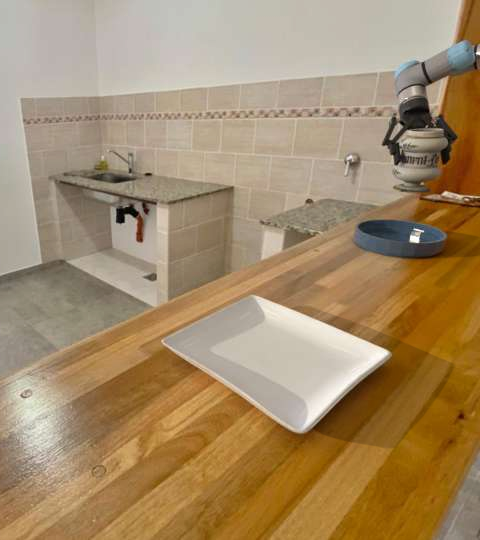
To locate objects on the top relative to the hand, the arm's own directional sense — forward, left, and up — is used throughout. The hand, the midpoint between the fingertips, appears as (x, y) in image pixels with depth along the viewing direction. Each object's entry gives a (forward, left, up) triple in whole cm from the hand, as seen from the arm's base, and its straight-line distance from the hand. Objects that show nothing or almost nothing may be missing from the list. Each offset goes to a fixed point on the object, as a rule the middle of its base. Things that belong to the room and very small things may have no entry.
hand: (421, 162), depth 114 cm
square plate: (+18, +90, -21) cm, 94 cm away
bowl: (+2, +18, -21) cm, 27 cm away
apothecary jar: (+1, -2, -9) cm, 9 cm away
